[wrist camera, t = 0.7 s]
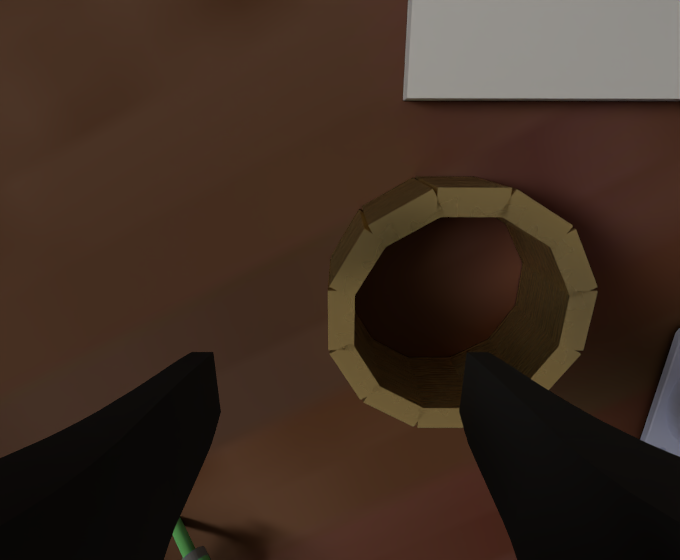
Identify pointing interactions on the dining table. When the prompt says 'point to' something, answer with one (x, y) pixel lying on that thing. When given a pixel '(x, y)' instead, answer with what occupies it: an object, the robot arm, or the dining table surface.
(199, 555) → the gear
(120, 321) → the dining table surface
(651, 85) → the piston stand
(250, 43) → the dining table surface
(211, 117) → the dining table surface
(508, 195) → the brass ring
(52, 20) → the dining table surface
